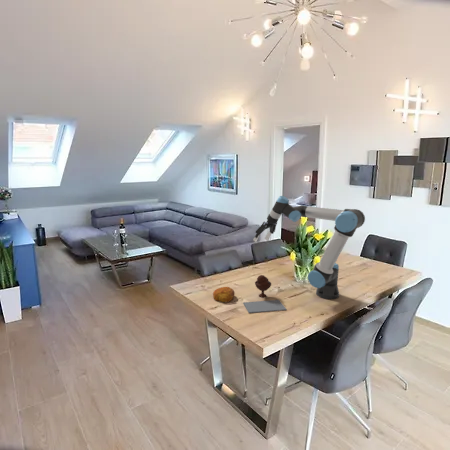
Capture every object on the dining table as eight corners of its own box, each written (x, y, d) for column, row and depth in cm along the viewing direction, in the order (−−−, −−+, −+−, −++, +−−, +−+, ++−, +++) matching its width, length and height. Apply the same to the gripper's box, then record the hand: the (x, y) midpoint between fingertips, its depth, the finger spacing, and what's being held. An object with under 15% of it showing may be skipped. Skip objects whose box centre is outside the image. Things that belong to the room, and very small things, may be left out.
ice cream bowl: (270, 300, 221) (271, 278, 218) (253, 298, 223) (254, 277, 220) (271, 293, 231) (272, 273, 228) (255, 292, 233) (255, 271, 230)
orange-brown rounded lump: (236, 297, 230) (237, 286, 229) (231, 304, 215) (232, 291, 214) (215, 294, 233) (216, 283, 232) (209, 301, 218) (210, 289, 217)
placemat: (278, 300, 220) (278, 299, 220) (286, 310, 207) (286, 309, 207) (243, 303, 216) (243, 302, 216) (248, 313, 202) (248, 312, 202)
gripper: (280, 212, 245) (267, 235, 254) (259, 213, 227) (246, 238, 236) (287, 218, 241) (274, 241, 250) (266, 220, 223) (252, 245, 232)
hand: (260, 240), depth 243 cm, fingers open, 13 cm apart
